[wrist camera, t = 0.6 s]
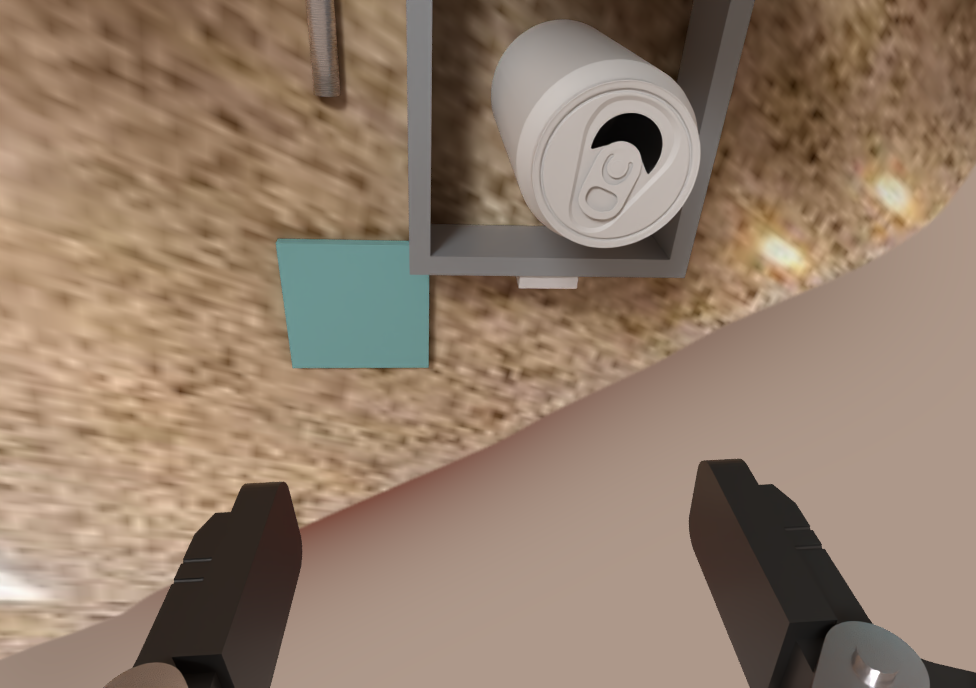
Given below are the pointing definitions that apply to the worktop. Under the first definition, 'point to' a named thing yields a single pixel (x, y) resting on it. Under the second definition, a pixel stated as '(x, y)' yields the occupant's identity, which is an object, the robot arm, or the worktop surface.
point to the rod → (323, 47)
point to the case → (537, 248)
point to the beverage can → (594, 134)
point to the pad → (353, 304)
